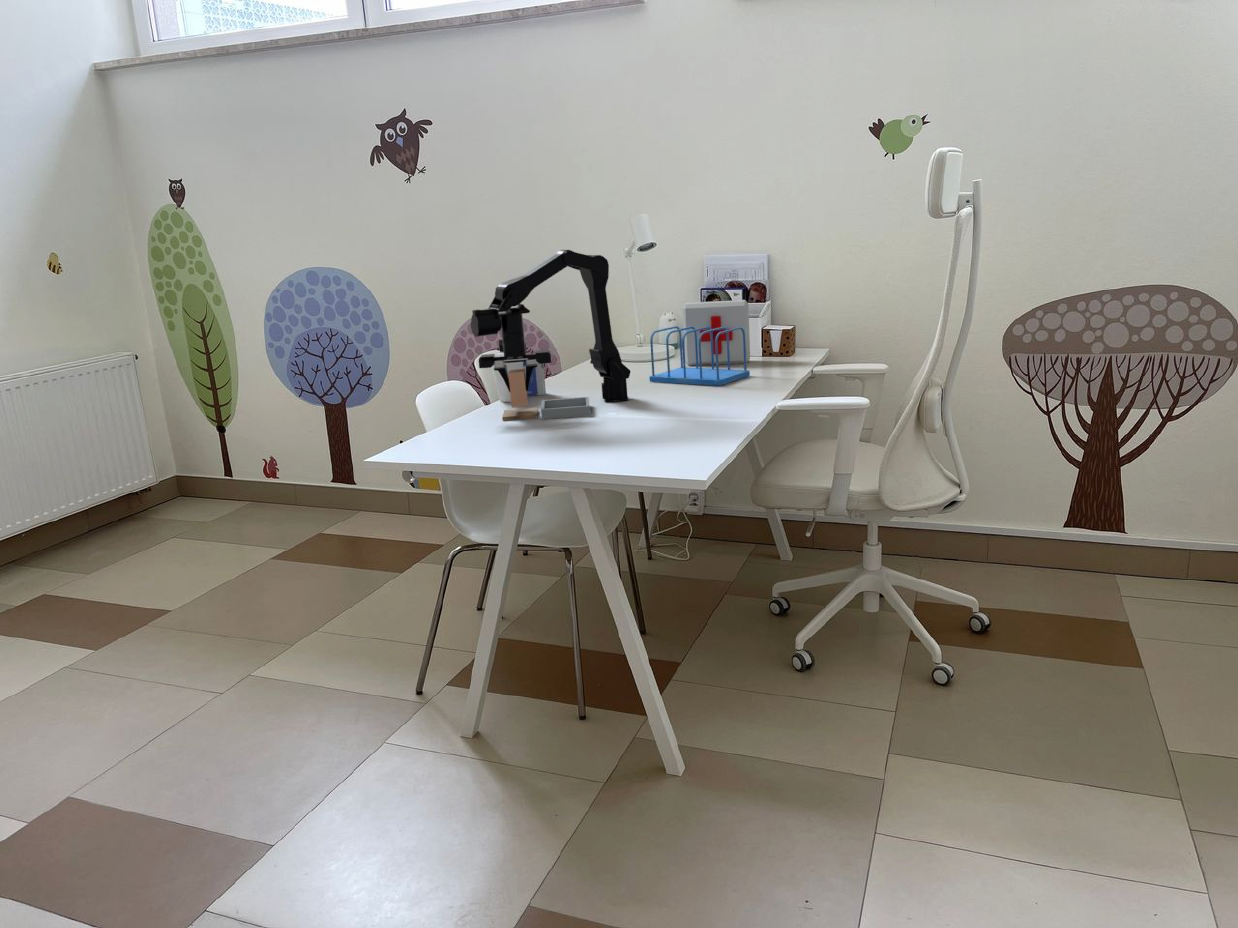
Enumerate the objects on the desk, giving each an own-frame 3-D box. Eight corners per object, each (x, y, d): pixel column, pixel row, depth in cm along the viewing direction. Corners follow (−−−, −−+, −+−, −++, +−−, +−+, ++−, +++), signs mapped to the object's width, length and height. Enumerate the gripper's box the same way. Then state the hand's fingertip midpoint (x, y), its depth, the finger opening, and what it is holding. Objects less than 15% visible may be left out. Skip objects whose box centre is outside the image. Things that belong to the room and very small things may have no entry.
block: (527, 402, 251) (524, 368, 248) (527, 405, 246) (523, 371, 244) (512, 403, 251) (509, 370, 248) (511, 407, 246) (508, 373, 243)
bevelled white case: (684, 367, 306) (681, 305, 301) (686, 363, 314) (683, 302, 309) (749, 364, 303) (747, 302, 297) (750, 360, 310) (748, 299, 305)
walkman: (518, 396, 276) (514, 355, 273) (520, 394, 279) (516, 354, 276) (544, 395, 275) (541, 354, 272) (546, 393, 278) (542, 353, 275)
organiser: (589, 405, 256) (588, 396, 255) (590, 415, 244) (589, 405, 243) (542, 409, 255) (542, 400, 255) (541, 419, 243) (540, 409, 243)
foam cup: (521, 402, 267) (516, 357, 263) (490, 403, 269) (485, 358, 265) (530, 395, 276) (526, 351, 272) (500, 396, 278) (496, 353, 274)
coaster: (538, 411, 254) (537, 407, 253) (537, 418, 245) (536, 414, 245) (504, 413, 253) (504, 410, 253) (502, 420, 245) (502, 417, 244)
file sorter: (750, 376, 283) (748, 325, 279) (719, 387, 270) (717, 334, 266) (681, 372, 298) (678, 324, 294) (649, 382, 285) (646, 332, 281)
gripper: (549, 325, 251) (554, 383, 256) (479, 331, 251) (485, 388, 255) (548, 330, 241) (553, 390, 245) (475, 336, 240) (482, 396, 244)
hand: (518, 391), depth 247 cm, fingers closed on block, 4 cm apart
